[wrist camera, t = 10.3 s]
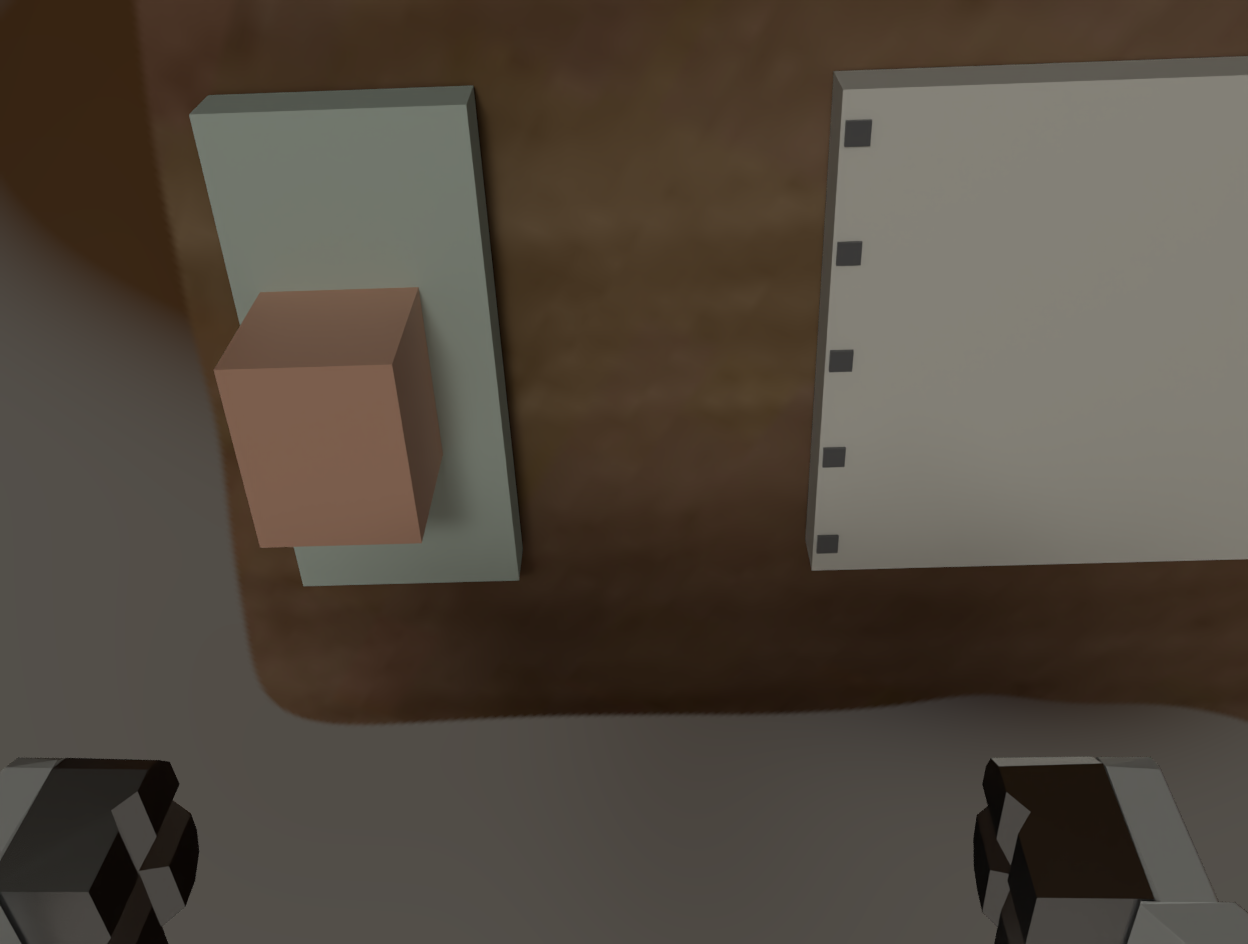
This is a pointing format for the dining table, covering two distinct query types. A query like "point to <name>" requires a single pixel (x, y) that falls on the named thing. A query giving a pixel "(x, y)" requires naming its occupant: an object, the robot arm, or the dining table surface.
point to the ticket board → (1033, 317)
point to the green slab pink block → (363, 332)
